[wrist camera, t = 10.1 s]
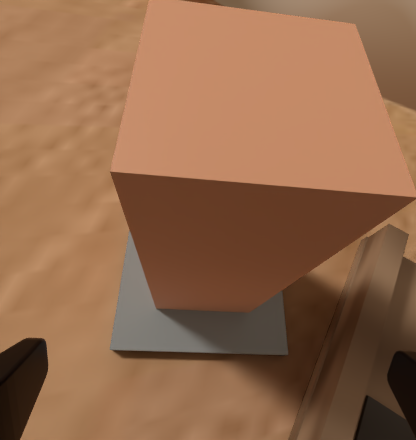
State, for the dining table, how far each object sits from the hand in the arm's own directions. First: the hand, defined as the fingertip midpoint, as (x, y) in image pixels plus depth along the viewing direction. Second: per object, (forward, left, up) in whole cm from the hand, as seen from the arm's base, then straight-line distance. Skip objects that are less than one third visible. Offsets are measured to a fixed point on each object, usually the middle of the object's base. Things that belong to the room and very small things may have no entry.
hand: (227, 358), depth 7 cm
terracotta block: (+5, +1, -8) cm, 9 cm away
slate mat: (+5, +1, -8) cm, 10 cm away
